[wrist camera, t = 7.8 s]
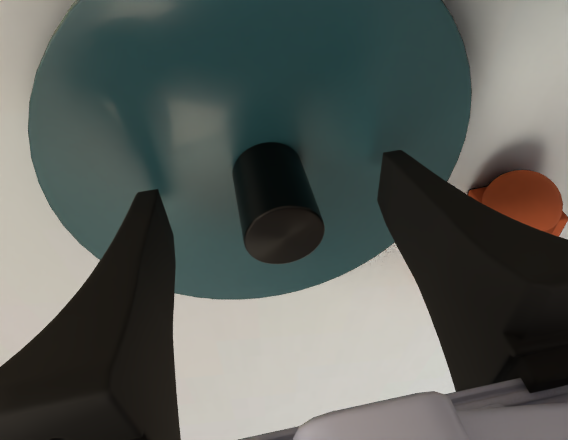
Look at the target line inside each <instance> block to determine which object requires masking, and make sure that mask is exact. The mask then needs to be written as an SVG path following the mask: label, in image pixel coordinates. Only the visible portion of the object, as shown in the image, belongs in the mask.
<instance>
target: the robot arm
mask: <svg viewBox="0 0 568 440" xmlns="http://www.w3.org/2000/svg"><path fill="white" fill-rule="evenodd" d="M377 201H378V204H379V207H380V210H381V213H382V216H383V218H384V221H385V224H386V226H387V228H388V230H389V232H390V234H391V236H392V237H393V239H394V241H395V243H396V245H397V247H398V249H399V251H400V252H401V254H402V256H403V258H404V260H405V262H406V264H407V265H408V267H409V269H410V271H411V273H412V275H413V276H414V278H415V281H416V283H417V285H418V287H419V289H420V291H421V294H422V296H423V299H424V301H425V304H426V306H427V309H428V311H429V314H430V316H431V319H432V322H433V324H434V327H435V330H436V333H437V335H438V338H439V341H440V344H441V347H442V350H443V352H444V355H445V358H446V361H447V364H448V367H449V370H450V374H451V377H452V380H453V383H454V387H455V390H456V392H454V393H449V394H441V393H438V392H435V391H432V392H422V393H415V394H411V395H406V396H401V397H397V398H392V399H388V400H383V401H378V402H374V403H369V404H365V405H360V406H355V407H351V408H346V409H342V410H337V411H332V412H329V413H326V414H323V415H320V416H317V417H314V418H312V419H310V420H309V421H307V422H305V423H304V424H302V425H301V426H298V427H294V428H289V429H285V430H280V431H275V432H271V433H266V434H262V435H257V436H253V437H248V438H243V439H239V440H568V240H567V239H564V238H561V237H558V236H555V235H552V234H549V233H547V232H544V231H541V230H539V229H536V228H534V227H531V226H529V225H526V224H524V223H521V222H519V221H517V220H514V219H512V218H510V217H508V216H506V215H504V214H502V213H500V212H498V211H496V210H494V209H492V208H490V207H488V206H486V205H484V204H482V203H480V202H479V201H477V200H475V199H473V198H472V197H470V196H468V195H467V194H465V193H463V192H462V191H460V190H459V189H457V188H456V187H454V186H452V185H451V184H449V183H448V182H446V181H445V180H443V179H442V178H441V177H439V176H438V175H436V174H435V173H433V172H432V171H431V170H429V169H428V168H426V167H425V166H424V165H422V164H421V163H419V162H418V161H417V160H415V159H414V158H412V157H411V156H410V155H408V154H407V153H405V152H404V151H402V150H396V151H390V152H384V153H383V157H382V164H381V172H380V180H379V188H378V196H377ZM175 269H176V260H175V246H174V235H173V232H172V229H171V226H170V223H169V220H168V217H167V214H166V211H165V208H164V205H163V202H162V199H161V196H160V193H159V190H158V189H154V190H148V191H141V192H138V193H137V194H136V195H135V197H134V200H133V202H132V204H131V206H130V208H129V210H128V212H127V214H126V216H125V218H124V220H123V222H122V224H121V226H120V228H119V230H118V232H117V233H116V235H115V237H114V239H113V241H112V242H111V244H110V246H109V247H108V249H107V251H106V252H105V254H104V255H103V257H102V258H101V260H100V262H99V263H98V265H97V266H96V268H95V269H94V271H93V272H92V273H91V275H90V276H89V278H88V279H87V280H86V282H85V283H84V284H83V286H82V287H81V288H80V289H79V291H78V292H77V293H76V294H75V295H74V297H73V298H72V299H71V300H70V301H69V303H68V304H67V305H66V306H65V307H64V308H63V309H62V310H61V312H60V313H59V314H58V315H57V316H56V317H55V318H54V319H53V320H52V321H51V322H50V323H49V324H48V325H47V326H46V327H45V328H44V329H43V330H42V331H41V332H40V333H39V334H38V335H37V336H36V337H35V338H34V339H32V340H31V341H30V342H29V343H28V344H27V345H26V346H25V347H24V348H23V349H21V350H20V351H19V352H18V353H17V354H15V355H14V356H13V357H12V358H11V359H9V360H8V361H7V362H6V363H5V364H3V365H2V366H1V367H0V440H181V438H180V428H179V417H178V406H177V394H176V380H175V366H174V350H173V310H174V290H175Z"/></svg>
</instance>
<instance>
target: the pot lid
mask: <svg viewBox="0 0 568 440" xmlns="http://www.w3.org/2000/svg"><path fill="white" fill-rule="evenodd" d="M471 94H472V90H471V78H470V67H469V63H468V59H467V55H466V51H465V47H464V43H463V40H462V37H461V35H460V33H459V31H458V28H457V26H456V24H455V21H454V19H453V17H452V15H451V14H450V12H449V11H448V9H447V8H446V6H445V5H444V3H443V2H442V0H77V1H76V2H75V3H74V4H73V5H72V6H71V7H70V9H69V11H68V12H67V14H66V15H65V17H64V18H63V20H62V21H61V23H60V24H59V26H58V27H57V29H56V30H55V32H54V34H53V35H52V37H51V39H50V41H49V44H48V46H47V48H46V51H45V53H44V55H43V58H42V60H41V62H40V65H39V67H38V69H37V72H36V76H35V80H34V84H33V89H32V93H31V97H30V102H29V121H28V135H29V143H30V151H31V158H32V162H33V165H34V168H35V172H36V175H37V178H38V182H39V184H40V186H41V188H42V190H43V193H44V195H45V197H46V199H47V201H48V203H49V205H50V207H51V208H52V210H53V211H54V212H55V214H56V215H57V217H58V218H59V220H60V221H61V223H62V224H63V226H64V227H65V228H66V229H67V230H68V231H69V232H70V233H71V234H72V235H73V237H74V238H75V239H76V240H77V241H78V242H79V243H80V244H81V245H82V246H84V247H85V248H86V249H87V250H88V251H90V252H91V253H92V254H93V255H94V256H95V257H97V258H98V259H100V260H101V258H102V257H103V255H104V254H105V252H106V251H107V249H108V247H109V246H110V244H111V242H112V241H113V239H114V237H115V235H116V233H117V232H118V230H119V228H120V226H121V224H122V222H123V220H124V218H125V216H126V214H127V212H128V210H129V208H130V206H131V204H132V202H133V200H134V197H135V195H136V194H137V193H138V192H141V191H148V190H154V189H158V190H159V193H160V196H161V199H162V202H163V205H164V208H165V211H166V214H167V217H168V220H169V223H170V226H171V229H172V232H173V235H174V246H175V260H176V269H175V290H174V293H176V294H182V295H187V296H193V297H199V298H210V299H253V298H263V297H270V296H276V295H282V294H286V293H291V292H295V291H299V290H303V289H306V288H309V287H312V286H315V285H319V284H321V283H324V282H326V281H329V280H331V279H334V278H336V277H339V276H341V275H343V274H345V273H347V272H349V271H351V270H353V269H355V268H357V267H359V266H360V265H362V264H364V263H365V262H367V261H369V260H370V259H372V258H374V257H375V256H377V255H378V254H379V253H381V252H382V251H384V250H385V249H386V248H388V247H389V246H391V245H392V244H393V243H394V242H395V241H394V239H393V237H392V236H391V234H390V232H389V230H388V228H387V226H386V224H385V221H384V218H383V216H382V213H381V210H380V207H379V204H378V201H377V196H378V188H379V180H380V172H381V164H382V157H383V153H384V152H390V151H396V150H402V151H404V152H405V153H407V154H408V155H410V156H411V157H412V158H414V159H415V160H417V161H418V162H419V163H421V164H422V165H424V166H425V167H426V168H428V169H429V170H431V171H432V172H433V173H435V174H436V175H438V176H439V177H441V178H442V179H443V180H445V181H446V182H447V181H448V179H449V177H450V175H451V173H452V171H453V169H454V167H455V165H456V163H457V161H458V158H459V155H460V152H461V149H462V147H463V144H464V141H465V138H466V133H467V128H468V123H469V119H470V109H471Z"/></svg>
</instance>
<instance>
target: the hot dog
mask: <svg viewBox="0 0 568 440" xmlns="http://www.w3.org/2000/svg"><path fill="white" fill-rule="evenodd" d="M468 196H470V197H472V198H473V199H475V200H477V201H479V202H480V203H482V204H484V205H486V206H488V207H490V208H492V209H494V210H496V211H498V212H500V213H502V214H504V215H506V216H508V217H510V218H512V219H514V220H517V221H519V222H521V223H524V224H526V225H529V226H531V227H534V228H536V229H539V230H541V231H544V232H547V233H549V234H552V235H555V236H558V237H559V235H560V233H561V232H562V230H563V228H564V226H565V225H566V223H567V221H568V217H567V216H566V214H565V213H564V212H563V211H562V209H563V202H562V197H561V194H560V192H559V190H558V188H557V186H556V185H555V184H554V183H553V182H552V181H551V180H550V179H549V178H547V177H546V176H544V175H542V174H540V173H538V172H534V171H530V170H515V171H510V172H507V173H505V174H502V175H500V176H499V177H497V178H496V179H495V180H493V181H492V182H491V183H490V184H489V185H488V187H484V188H478V189H472V190H470V191H469V193H468Z"/></svg>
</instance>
